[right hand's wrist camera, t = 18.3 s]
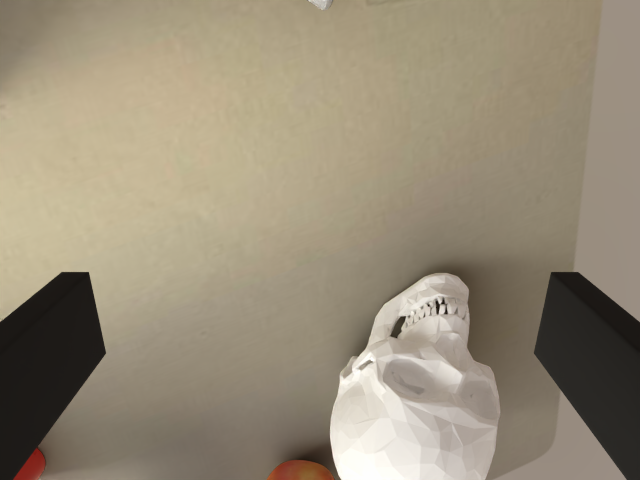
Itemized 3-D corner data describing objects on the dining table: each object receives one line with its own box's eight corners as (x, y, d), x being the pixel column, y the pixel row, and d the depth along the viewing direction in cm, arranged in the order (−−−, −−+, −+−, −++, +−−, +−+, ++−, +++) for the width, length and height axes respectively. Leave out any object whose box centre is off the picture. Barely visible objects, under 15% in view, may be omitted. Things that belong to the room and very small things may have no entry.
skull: (504, 279, 44) (587, 385, 30) (427, 441, 52) (463, 588, 38) (376, 245, 44) (396, 336, 29) (318, 415, 51) (310, 555, 37)
